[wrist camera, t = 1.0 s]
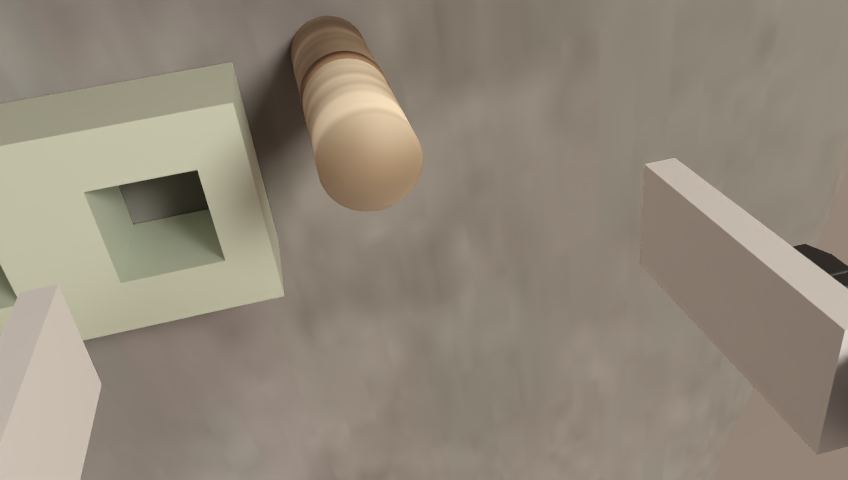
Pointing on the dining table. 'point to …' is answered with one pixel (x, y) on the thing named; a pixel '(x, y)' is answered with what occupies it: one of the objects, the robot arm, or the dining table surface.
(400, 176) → the dowel
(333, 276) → the dining table surface
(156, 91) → the pale green holed block
